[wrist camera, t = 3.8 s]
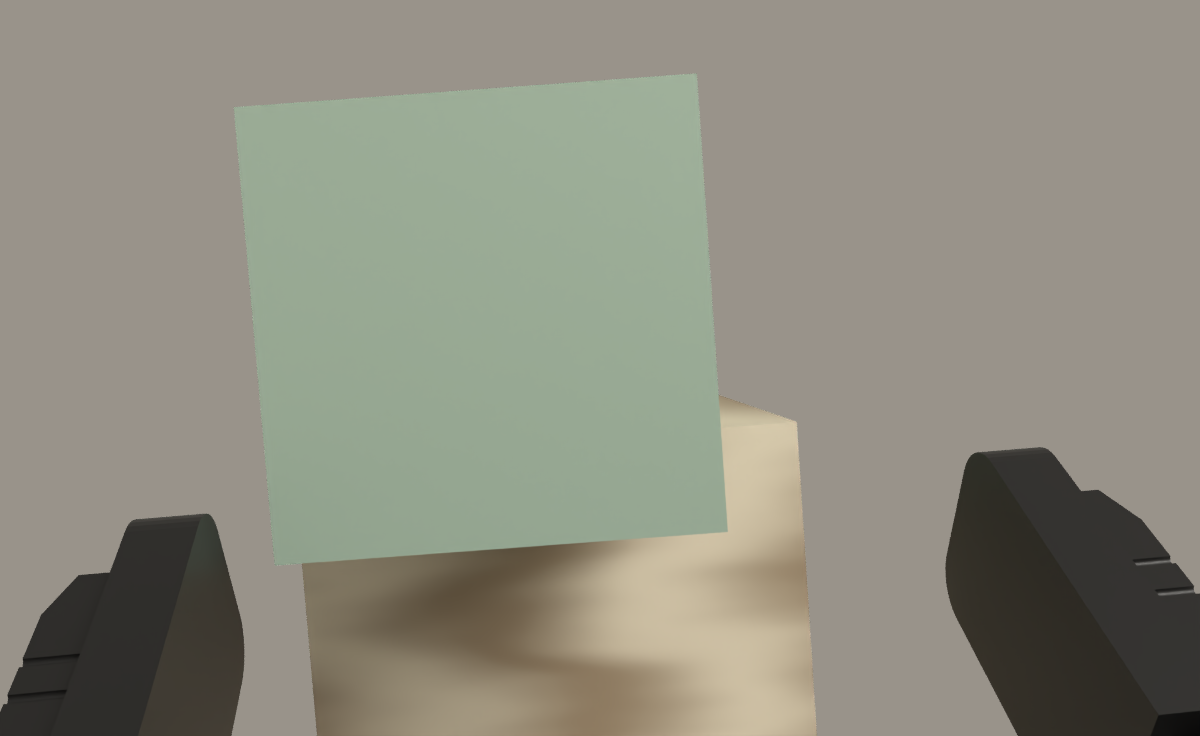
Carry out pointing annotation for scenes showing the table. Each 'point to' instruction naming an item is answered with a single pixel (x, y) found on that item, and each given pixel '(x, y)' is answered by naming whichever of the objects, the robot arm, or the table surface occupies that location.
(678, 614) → the zigzag patterned pillar
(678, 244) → the pale green block bar
